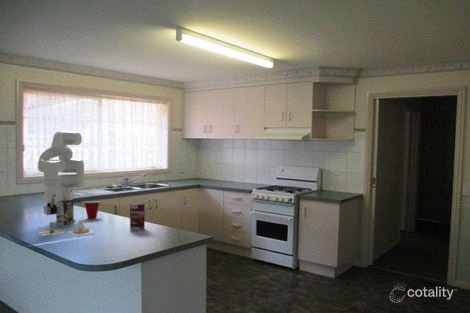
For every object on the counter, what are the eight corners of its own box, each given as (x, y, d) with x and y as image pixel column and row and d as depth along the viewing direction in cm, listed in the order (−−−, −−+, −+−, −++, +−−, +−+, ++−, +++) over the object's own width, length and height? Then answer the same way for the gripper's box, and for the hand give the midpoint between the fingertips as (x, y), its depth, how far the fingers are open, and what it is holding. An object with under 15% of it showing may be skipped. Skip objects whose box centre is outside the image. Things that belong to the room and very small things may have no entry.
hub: (67, 233, 216) (66, 219, 215) (87, 230, 224) (87, 216, 223) (73, 237, 207) (73, 222, 206) (95, 233, 215) (95, 219, 214)
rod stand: (38, 234, 215) (37, 222, 214) (59, 230, 222) (59, 219, 222) (43, 238, 206) (43, 225, 205) (66, 234, 213) (66, 222, 213)
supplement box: (130, 231, 221) (129, 204, 221) (130, 229, 226) (129, 203, 225) (144, 230, 223) (144, 204, 223) (144, 228, 228) (144, 202, 227)
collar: (43, 213, 215) (43, 205, 214) (56, 211, 219) (56, 204, 219) (47, 215, 209) (46, 207, 209) (60, 213, 214) (60, 206, 214)
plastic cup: (103, 216, 266) (102, 200, 266) (96, 219, 255) (95, 202, 255) (88, 216, 267) (88, 199, 267) (81, 219, 256) (80, 202, 256)
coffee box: (65, 227, 232) (64, 201, 231) (56, 226, 233) (55, 201, 232) (74, 224, 241) (73, 199, 240) (65, 223, 242) (65, 199, 241)
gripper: (40, 181, 217) (40, 211, 218) (48, 184, 204) (49, 216, 205) (53, 180, 222) (54, 209, 223) (62, 183, 209) (63, 214, 210)
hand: (52, 212), depth 214 cm, fingers closed on collar, 7 cm apart
